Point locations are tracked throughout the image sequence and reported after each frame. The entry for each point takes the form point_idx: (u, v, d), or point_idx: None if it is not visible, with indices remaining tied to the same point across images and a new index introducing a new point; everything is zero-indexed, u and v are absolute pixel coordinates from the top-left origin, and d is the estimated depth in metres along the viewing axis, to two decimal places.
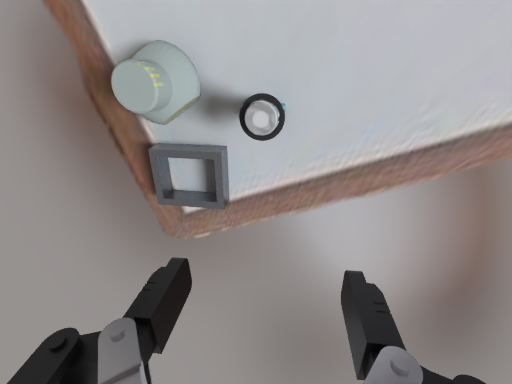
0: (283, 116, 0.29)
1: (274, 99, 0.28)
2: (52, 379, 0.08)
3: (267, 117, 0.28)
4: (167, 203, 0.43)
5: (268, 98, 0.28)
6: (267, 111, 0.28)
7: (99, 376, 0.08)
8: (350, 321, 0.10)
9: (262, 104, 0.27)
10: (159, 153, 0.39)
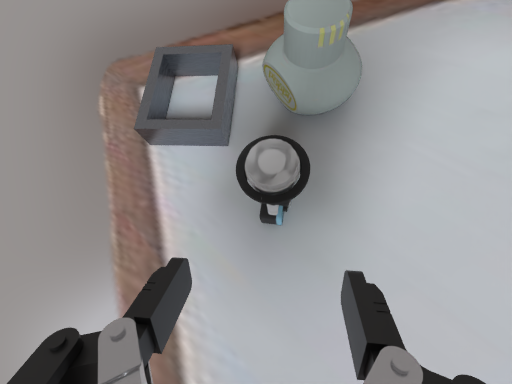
0: (273, 201, 0.17)
1: (301, 186, 0.17)
2: (52, 379, 0.08)
3: (274, 171, 0.17)
4: (155, 58, 0.30)
5: (302, 177, 0.17)
6: (284, 171, 0.17)
7: (99, 376, 0.08)
8: (350, 321, 0.10)
9: (295, 164, 0.17)
10: (225, 56, 0.29)
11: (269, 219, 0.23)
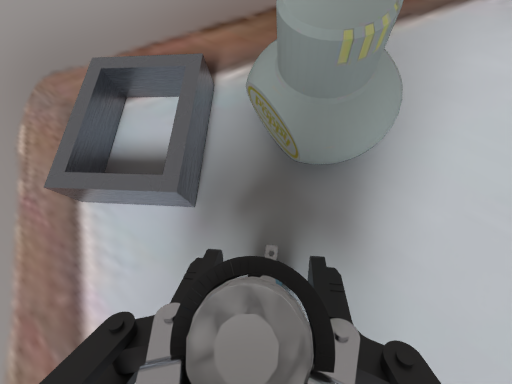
0: None
1: None
2: (105, 361, 0.08)
3: (251, 383, 0.07)
4: (89, 73, 0.21)
5: None
6: None
7: (148, 354, 0.08)
8: None
9: (303, 364, 0.07)
10: (191, 71, 0.19)
11: None
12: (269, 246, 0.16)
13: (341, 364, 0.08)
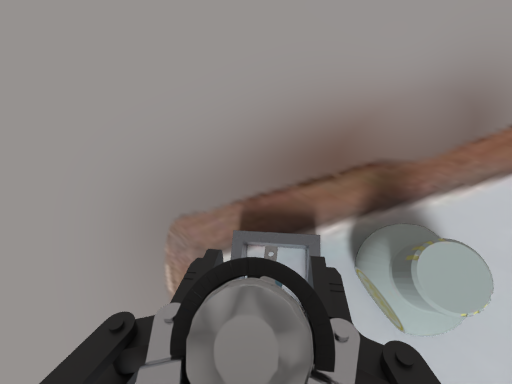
0: None
1: None
2: (105, 361, 0.08)
3: None
4: (234, 245, 0.28)
5: None
6: None
7: (148, 354, 0.08)
8: None
9: (303, 365, 0.07)
10: (314, 251, 0.27)
11: None
12: (269, 247, 0.16)
13: (341, 364, 0.08)
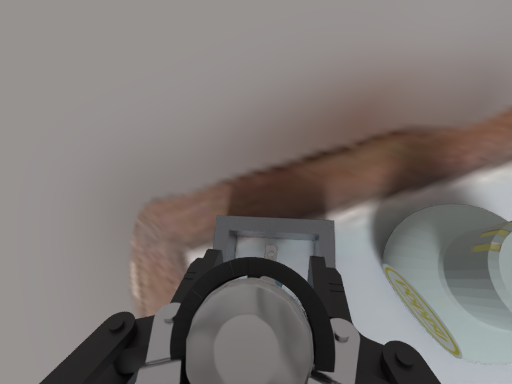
0: None
1: None
2: (105, 360, 0.08)
3: None
4: (217, 235, 0.21)
5: None
6: None
7: (148, 353, 0.08)
8: None
9: (303, 365, 0.07)
10: (326, 242, 0.20)
11: None
12: (268, 246, 0.16)
13: (341, 364, 0.08)
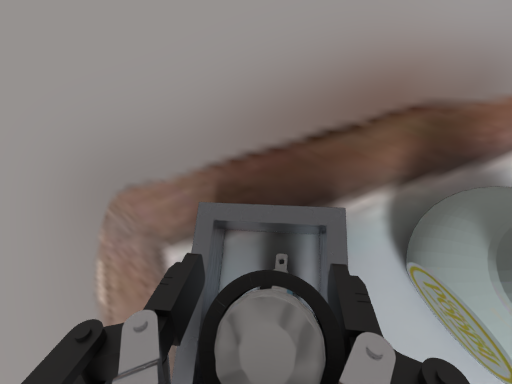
0: None
1: None
2: (75, 369, 0.08)
3: (273, 382, 0.08)
4: (199, 226, 0.17)
5: (330, 377, 0.09)
6: None
7: (120, 365, 0.08)
8: (333, 311, 0.11)
9: (317, 366, 0.08)
10: (336, 235, 0.15)
11: None
12: (279, 255, 0.17)
13: (371, 382, 0.07)
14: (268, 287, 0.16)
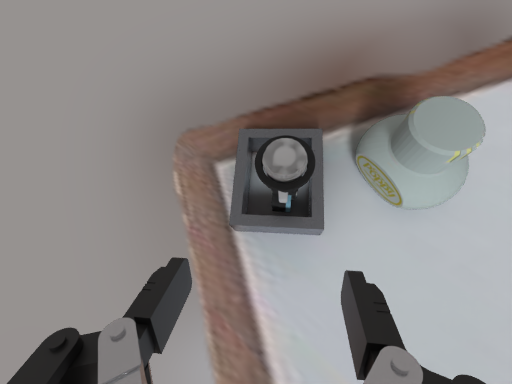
0: (286, 188, 0.21)
1: (308, 176, 0.21)
2: (52, 379, 0.08)
3: (287, 164, 0.21)
4: (240, 141, 0.29)
5: (309, 169, 0.21)
6: (295, 164, 0.21)
7: (99, 376, 0.08)
8: (350, 321, 0.10)
9: (304, 158, 0.21)
10: (316, 142, 0.28)
11: (280, 206, 0.27)
12: None
13: None
14: None
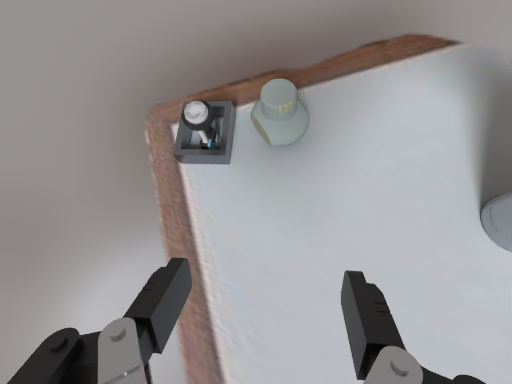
0: (196, 127, 0.40)
1: (207, 120, 0.40)
2: (52, 379, 0.08)
3: (195, 113, 0.40)
4: (183, 108, 0.48)
5: (209, 117, 0.40)
6: (199, 113, 0.40)
7: (99, 376, 0.08)
8: (350, 321, 0.10)
9: (204, 110, 0.40)
10: (228, 108, 0.47)
11: (204, 146, 0.46)
12: None
13: None
14: None
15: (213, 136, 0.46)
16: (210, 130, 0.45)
